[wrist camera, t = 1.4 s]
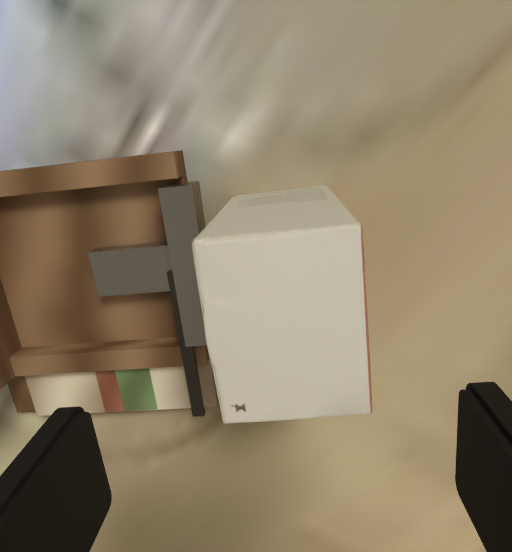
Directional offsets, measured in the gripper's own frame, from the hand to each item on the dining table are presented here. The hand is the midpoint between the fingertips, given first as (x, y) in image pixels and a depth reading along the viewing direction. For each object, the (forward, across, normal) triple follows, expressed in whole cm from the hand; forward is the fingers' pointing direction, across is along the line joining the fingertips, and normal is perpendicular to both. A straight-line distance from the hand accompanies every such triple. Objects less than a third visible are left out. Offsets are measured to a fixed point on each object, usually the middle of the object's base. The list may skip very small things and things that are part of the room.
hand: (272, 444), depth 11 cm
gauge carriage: (+18, +8, +3) cm, 20 cm away
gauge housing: (+19, +14, +2) cm, 23 cm away
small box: (+19, 0, 0) cm, 19 cm away
